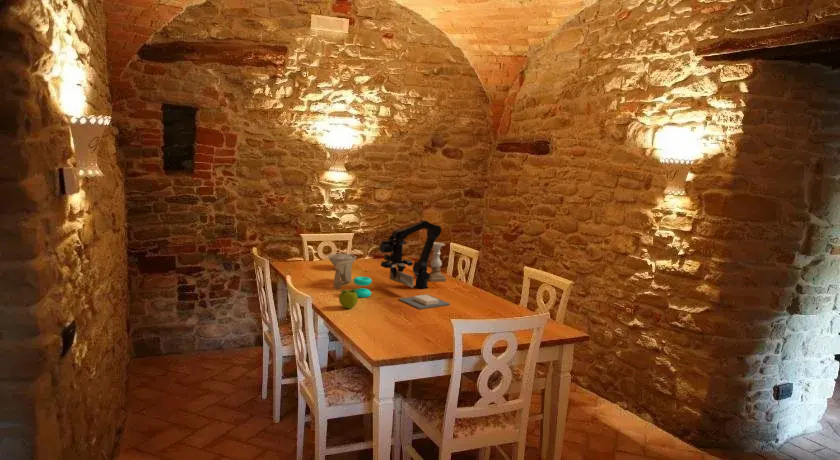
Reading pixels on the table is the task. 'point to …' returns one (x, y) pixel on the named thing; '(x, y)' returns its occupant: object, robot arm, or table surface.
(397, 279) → the brown upright panel
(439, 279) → the candle holder
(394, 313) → the table surface
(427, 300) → the tile
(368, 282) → the donuts
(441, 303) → the grey square plate
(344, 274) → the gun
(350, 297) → the fruit
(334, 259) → the bowl
